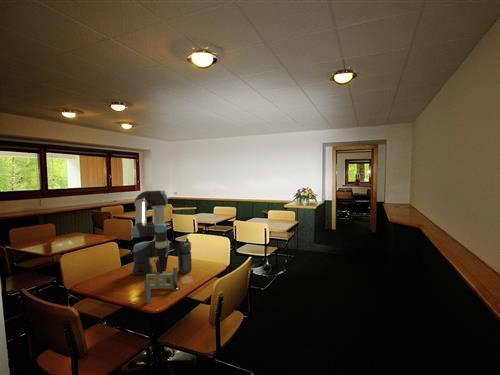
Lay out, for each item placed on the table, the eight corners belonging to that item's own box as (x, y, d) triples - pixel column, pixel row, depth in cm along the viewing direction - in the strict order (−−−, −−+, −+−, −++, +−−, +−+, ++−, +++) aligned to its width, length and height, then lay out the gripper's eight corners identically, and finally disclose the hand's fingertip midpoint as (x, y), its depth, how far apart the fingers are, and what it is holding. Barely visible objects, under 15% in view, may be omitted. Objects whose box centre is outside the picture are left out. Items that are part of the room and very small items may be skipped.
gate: (173, 286, 166) (173, 273, 165) (172, 288, 163) (172, 274, 163) (147, 287, 165) (147, 273, 165) (146, 288, 163) (145, 275, 162)
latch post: (143, 302, 147) (143, 281, 146) (148, 300, 149) (148, 279, 149) (147, 304, 145) (146, 282, 144) (151, 301, 148) (151, 280, 147)
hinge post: (169, 289, 164) (168, 267, 163) (176, 285, 169) (175, 264, 168) (175, 291, 160) (174, 269, 160) (182, 287, 165) (181, 266, 165)
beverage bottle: (174, 274, 190) (173, 242, 189) (183, 268, 202) (182, 237, 201) (185, 275, 187) (184, 242, 186) (194, 269, 199) (193, 238, 198)
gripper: (162, 243, 174) (163, 276, 175) (150, 249, 162) (151, 284, 163) (171, 244, 172) (172, 277, 173) (160, 250, 160) (161, 285, 161)
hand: (162, 280), depth 168 cm, fingers closed
